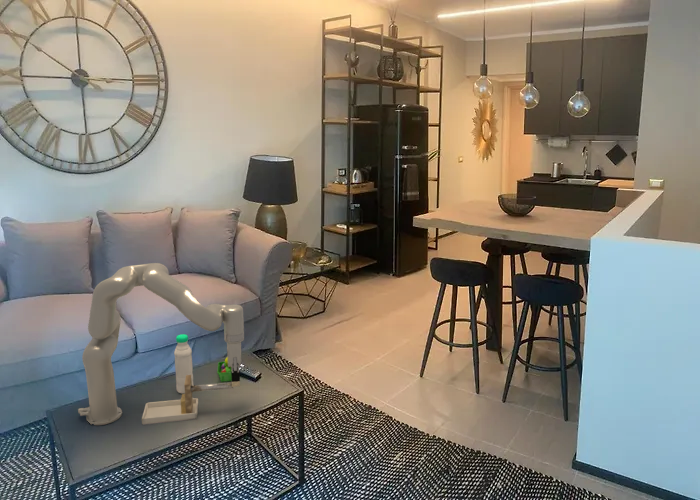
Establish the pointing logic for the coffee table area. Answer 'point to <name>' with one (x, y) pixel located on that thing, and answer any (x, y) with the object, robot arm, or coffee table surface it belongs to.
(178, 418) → the tray
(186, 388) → the shaft post
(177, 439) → the coffee table surface
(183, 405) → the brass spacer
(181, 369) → the water bottle
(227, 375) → the fruit basket
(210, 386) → the steel shaft
